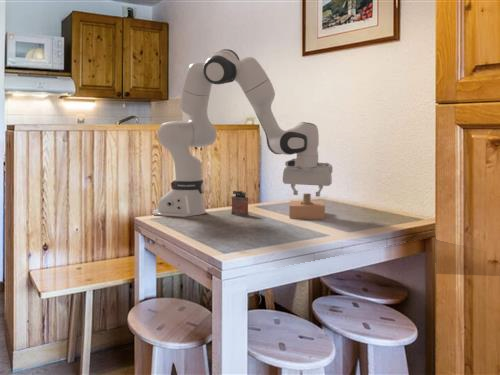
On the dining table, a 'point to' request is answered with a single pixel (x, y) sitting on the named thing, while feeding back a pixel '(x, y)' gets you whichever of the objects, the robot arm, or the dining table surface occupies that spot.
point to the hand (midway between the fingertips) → (306, 195)
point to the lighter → (239, 203)
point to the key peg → (306, 198)
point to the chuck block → (307, 210)
